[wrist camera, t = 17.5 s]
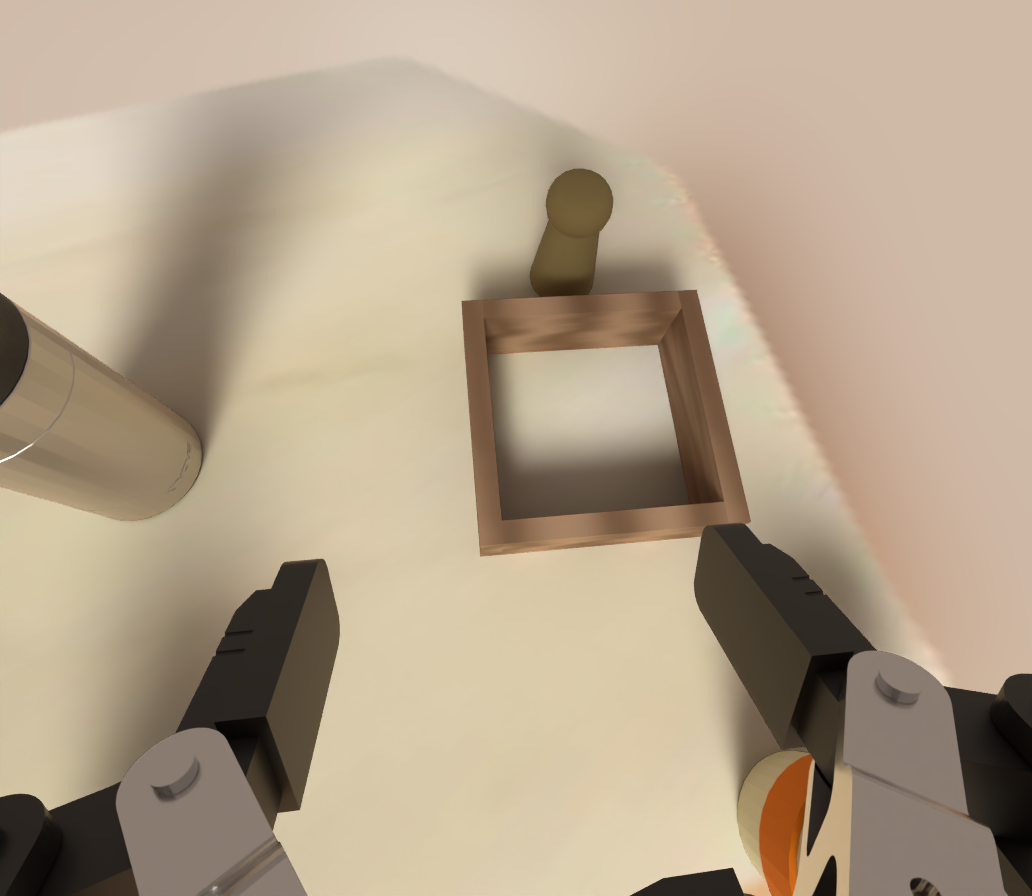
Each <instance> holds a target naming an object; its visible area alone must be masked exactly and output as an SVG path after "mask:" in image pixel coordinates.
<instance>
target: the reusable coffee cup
mask: <svg viewBox="0 0 1032 896" xmlns="http://www.w3.org/2000/svg"><path fill="white" fill-rule="evenodd" d="M812 760H813V758H812V756H811V754H810V753H806V752H799V751H792V750H790V751H780V752H777V753H774V754H771V755H769V756H767V757H765V758H764V759H762V760H761V761H759V762H758V763H757V764H756V765H755V766H754V767H753V768H752V769H751V771H750V772H749V774H748V776H747V777H746V779H745V781H744V783H743V786H742V789H741V791H740V796H739V801H738V826H739V832H740V837H741V840H742V843H743V846H744V849H745V851H746V853H747V855H748V857H749V859H750V861H751V863H752V864H753V866H754V867H755V868H756V870H757V871H758V872H759V874H760V875H761V876H762V877H763V879H764V880H765V881H766V883H767V885H768V888H769V891H770V893H771V895H772V896H793V893H794V889H795V885H796V881H797V876H798V870H799V863H800V854H801V845H802V835H803V826H804V816H805V806H806V797H807V787H808V778H809V770H810V765H811V763H812ZM1004 893H1005V896H1008V895H1007V893H1006V892H1005V891H1004Z"/></svg>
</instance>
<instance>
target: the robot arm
mask: <svg viewBox="0 0 1032 896" xmlns="http://www.w3.org/2000/svg"><path fill="white" fill-rule="evenodd" d="M201 457H202V451H201V444H200V440H199V438H198V436H197V433H196V431H195V430H194V429H193V427H192V426H191V425H190V424H189V423H188V422H187V421H186V420H184V419H183V418H182V417H180V416H179V415H178V414H176V413H175V412H173V411H172V410H170V409H169V408H167V407H166V406H164V405H163V404H161V403H160V402H159V401H157V400H156V399H155V398H153V397H152V396H150V395H149V394H147V393H146V392H144V391H143V390H142V389H140V388H139V387H137V386H136V385H134V384H133V383H131V382H130V381H128V380H127V379H125V378H124V377H123V376H121V375H120V374H118V373H117V372H115V371H114V370H112V369H111V368H109V367H108V366H107V365H105V364H104V363H102V362H101V361H99V360H98V359H96V358H95V357H93V356H92V355H90V354H89V353H88V352H86V351H85V350H83V349H82V348H80V347H79V346H77V345H76V344H74V343H73V342H71V341H70V340H69V339H67V338H66V337H64V336H63V335H61V334H60V333H58V332H57V331H55V330H54V329H52V328H51V327H49V326H48V325H46V324H45V323H43V322H42V321H40V320H39V319H37V318H36V317H35V316H33V315H32V314H30V313H29V312H27V311H26V310H24V309H23V308H21V307H20V306H18V305H17V304H16V303H14V302H13V301H11V300H10V299H8V298H7V297H5V296H4V295H3V294H1V293H0V487H3V488H6V489H10V490H13V491H17V492H20V493H24V494H27V495H31V496H34V497H38V498H42V499H45V500H49V501H52V502H56V503H59V504H63V505H66V506H70V507H73V508H76V509H80V510H83V511H87V512H90V513H94V514H98V515H101V516H105V517H109V518H113V519H117V520H129V521H134V520H140V519H146V518H149V517H152V516H154V515H157V514H160V513H161V512H163V511H165V510H167V509H168V508H170V507H172V506H173V505H174V504H175V503H177V502H178V501H179V500H180V499H181V498H182V497H183V496H184V495H185V494H186V493H187V491H188V490H189V489H190V488H191V486H192V485H193V483H194V481H195V479H196V477H197V475H198V472H199V469H200V466H201ZM694 591H695V597H696V601H697V604H698V606H699V609H700V611H701V613H702V614H703V616H704V618H705V619H706V621H707V623H708V624H709V626H710V628H711V630H712V631H713V633H714V635H715V636H716V638H717V640H718V642H719V643H720V645H721V647H722V648H723V650H724V652H725V654H726V655H727V657H728V659H729V660H730V662H731V664H732V666H733V667H734V669H735V671H736V672H737V674H738V676H739V678H740V679H741V681H742V683H743V684H744V686H745V688H746V690H747V691H748V693H749V695H750V696H751V698H752V700H753V702H754V703H755V705H756V707H757V708H758V710H759V712H760V713H761V715H762V717H763V719H764V720H765V722H766V724H767V725H768V727H769V729H770V731H771V732H772V734H773V736H774V737H775V739H776V741H777V743H778V744H779V746H780V748H781V749H788V748H796V747H804V746H806V748H807V750H808V751H809V753H810V754H811V756H812V758H813V760H812V763H811V765H810V770H809V778H808V787H807V797H806V806H805V816H804V826H803V835H802V845H801V854H800V863H799V870H798V876H797V881H796V885H795V889H794V893H793V896H1005V893H1004V891H1005V892H1006V893H1007V895H1008V896H1032V674H1017V675H1013V676H1011V677H1009V678H1008V679H1007V680H1006V681H1005V683H1004V685H1003V686H1002V688H1001V690H1000V692H999V693H998V695H995V694H988V693H982V692H976V691H970V690H963V689H957V688H951V687H945V686H942V684H941V683H940V682H939V681H938V680H937V679H936V678H935V677H934V676H933V675H931V674H930V673H929V672H928V671H926V670H925V669H923V668H922V667H921V666H919V665H917V664H915V663H914V662H912V661H910V660H908V659H906V658H903V657H901V656H898V655H895V654H892V653H888V652H882V651H877V650H876V649H875V648H874V647H873V646H872V645H871V643H870V642H869V641H868V640H867V639H866V638H865V637H864V636H863V635H862V634H861V632H860V631H859V630H858V629H857V628H856V627H855V626H854V625H853V624H852V623H851V621H850V620H849V619H848V618H847V617H846V616H845V615H844V614H843V613H842V612H841V610H840V609H839V608H838V607H837V606H836V605H835V604H834V603H833V602H832V601H831V599H830V598H829V597H828V596H827V595H823V591H822V590H821V588H820V587H819V586H818V585H817V584H816V583H815V582H814V581H813V580H810V579H809V575H808V574H807V573H806V572H805V571H804V570H803V569H802V568H801V566H800V565H799V564H798V563H797V562H796V561H795V560H794V559H793V558H792V557H790V556H789V555H787V554H786V553H784V552H782V551H781V550H779V549H778V548H776V547H774V546H773V545H771V544H762V543H761V542H760V541H759V540H758V538H757V537H756V536H755V535H754V534H753V533H752V531H751V530H750V529H749V528H748V527H747V526H746V525H745V524H743V523H729V524H718V525H708V526H706V527H705V528H704V529H703V532H702V537H701V543H700V549H699V555H698V561H697V567H696V573H695V579H694ZM339 635H340V624H339V615H338V611H337V606H336V602H335V598H334V594H333V589H332V585H331V581H330V577H329V572H328V568H327V565H326V562H325V560H324V559H313V560H302V561H291V562H284V563H283V564H282V565H281V567H280V570H279V572H278V574H277V577H276V579H275V581H274V584H273V586H272V588H271V589H267V590H256V591H255V592H254V593H253V594H252V595H251V596H250V597H249V598H248V599H247V600H246V601H245V602H244V603H243V604H242V605H241V606H240V607H239V608H238V609H237V610H236V611H235V613H234V615H233V617H232V619H231V621H230V624H229V626H228V628H227V630H226V632H225V637H223V638H222V640H221V642H220V644H219V646H218V648H217V650H216V656H213V658H212V660H211V662H210V664H209V666H208V668H207V670H206V672H205V674H204V676H203V678H202V681H201V683H200V685H199V687H198V689H197V691H196V693H195V695H194V697H193V699H192V701H191V703H190V705H189V707H188V709H187V711H186V713H185V715H184V717H183V719H182V721H181V723H180V725H179V727H178V729H177V731H176V733H175V734H173V735H171V736H169V737H167V738H165V739H163V740H162V741H160V742H158V743H157V744H155V745H154V746H153V747H151V748H150V749H149V750H147V751H146V752H145V753H144V754H143V755H142V756H141V757H140V758H139V759H138V760H137V761H136V762H135V763H134V764H133V765H132V767H131V768H130V769H129V770H128V772H127V773H126V775H125V776H124V778H123V780H122V781H121V782H119V783H117V784H115V785H112V786H110V787H108V788H105V789H103V790H100V791H98V792H95V793H93V794H90V795H88V796H85V797H83V798H80V799H77V800H75V801H72V802H70V803H67V804H65V805H62V806H60V807H57V808H55V809H52V810H50V811H48V810H47V809H46V807H45V806H44V805H43V803H42V802H41V801H40V800H39V799H38V798H36V797H35V796H32V795H29V794H13V795H8V796H4V797H0V896H307V894H306V892H305V890H304V888H303V886H302V884H301V882H300V880H299V878H298V876H297V874H296V872H295V870H294V868H293V866H292V864H291V862H290V860H289V858H288V856H287V854H286V852H285V851H284V849H283V847H282V845H281V843H280V842H278V841H277V839H276V837H275V835H274V833H273V828H274V824H275V820H276V817H277V813H280V812H288V811H296V810H300V807H301V803H302V798H303V794H304V790H305V786H306V781H307V777H308V773H309V769H310V764H311V760H312V756H313V752H314V747H315V743H316V739H317V735H318V730H319V726H320V722H321V718H322V713H323V709H324V705H325V700H326V696H327V692H328V688H329V683H330V679H331V675H332V671H333V666H334V662H335V658H336V654H337V649H338V645H339ZM630 896H754V895H751V894H745V893H743V891H742V889H741V886H740V884H739V881H738V879H737V877H736V874H735V872H734V869H733V868H728V869H722V870H715V871H708V872H702V873H695V874H688V875H682V876H675V877H668V878H663V879H661V880H659V881H657V882H655V883H653V884H651V885H649V886H648V887H646V888H644V889H642V890H640V891H638V892H636V893H634V894H632V895H630Z"/></svg>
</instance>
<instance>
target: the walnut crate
mask: <svg viewBox="0 0 1032 896" xmlns="http://www.w3.org/2000/svg"><path fill="white" fill-rule="evenodd" d="M462 315H463V332H464V347H465V360H466V373H467V386H468V400H469V413H470V426H471V439H472V453H473V466H474V479H475V492H476V506H477V519H478V532H479V545H480V556H491V555H502V554H513V553H524V552H535V551H546V550H557V549H568V548H579V547H590V546H601V545H612V544H623V543H634V542H645V541H656V540H667V539H678V538H689V537H700V536H702V532H703V529H704V528H705V527H706V526H708V525H718V524H729V523H743V524H747V523H749V522H751V520H750V516H749V511H748V507H747V503H746V499H745V494H744V490H743V486H742V482H741V477H740V473H739V469H738V464H737V460H736V456H735V452H734V447H733V443H732V439H731V435H730V430H729V426H728V422H727V417H726V413H725V409H724V405H723V400H722V396H721V392H720V388H719V383H718V379H717V375H716V370H715V366H714V362H713V358H712V353H711V349H710V345H709V341H708V336H707V332H706V328H705V323H704V319H703V315H702V311H701V306H700V302H699V298H698V294H697V290H684V291H663V292H642V293H620V294H599V295H578V296H557V297H536V298H515V299H493V300H472V301H462ZM643 345H658V347H659V352H660V357H661V362H662V367H663V372H664V377H665V382H666V387H667V392H668V397H669V402H670V407H671V412H672V417H673V422H674V427H675V432H676V437H677V442H678V447H679V452H680V457H681V462H682V467H683V472H684V477H685V482H686V487H687V492H688V497H689V502H690V505H679V506H667V507H656V508H644V509H632V510H621V511H609V512H597V513H585V514H574V515H562V516H550V517H538V518H527V519H515V520H503V521H502V517H501V506H500V495H499V484H498V473H497V462H496V450H495V439H494V428H493V417H492V406H491V395H490V383H489V372H488V361H487V354H501V353H519V352H537V351H554V350H572V349H590V348H607V347H625V346H643Z"/></svg>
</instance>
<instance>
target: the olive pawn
mask: <svg viewBox="0 0 1032 896" xmlns="http://www.w3.org/2000/svg"><path fill="white" fill-rule="evenodd" d="M612 208H613V196H612V191H611V189H610V187H609V185H608V183H607V182H606V180H605V179H604V178H603V177H601V176H600V175H599V174H597V173H595V172H593V171H591V170H586V169H572V170H569V171H566V172H564V173H563V174H562V175H560V176H559V177H557V178H556V179H555V181H554V182H553V183H552V185H551V187H550V189H549V190H548V195H547V199H546V209H547V215H548V219H549V221H548V223H547V226H546V229H545V231H544V234H543V237H542V240H541V242H540V245H539V248H538V251H537V253H536V256H535V259H534V262H533V264H532V267H531V272H530V279H531V284H532V286H533V288H534V289H535V291H536V292H537V293H538V294H539V295H540V296H541V297H557V296H578V295H588V293H589V292H590V290H591V288H592V284H593V278H594V270H595V262H596V254H597V246H598V238H599V231H601V230H602V229H603V227H604V226H605V225H606V223H607V222H608V220H609V218H610V216H611V213H612Z"/></svg>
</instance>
